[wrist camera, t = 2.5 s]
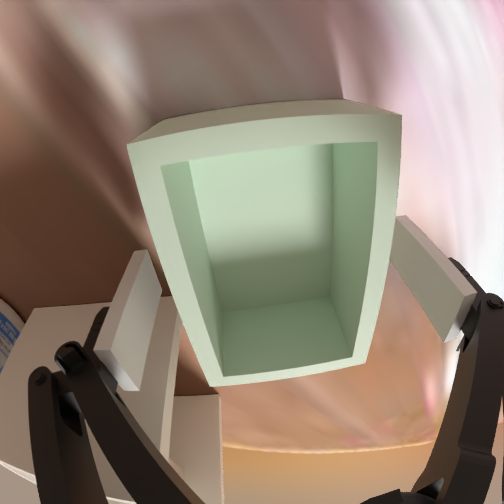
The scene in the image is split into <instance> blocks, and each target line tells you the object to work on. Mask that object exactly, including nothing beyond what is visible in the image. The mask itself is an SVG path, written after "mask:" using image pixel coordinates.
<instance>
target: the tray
mask: <svg viewBox="0 0 504 504" xmlns="http://www.w3.org/2000/svg"><path fill="white" fill-rule="evenodd" d="M401 135H402V115H400V114H397V113H394V112H390V111H387V110H384V109H380V108H377V107H373V106H370V105H366V104H362V103H358V102H354V101H350V100H346V99H319V100H298V101H284V102H272V103H262V104H253V105H244V106H237V107H229V108H223V109H216V110H210V111H204V112H198V113H193V114H188V115H183V116H178V117H173V118H168V119H164V120H162V121H160V122H159V123H157V124H156V125H154V126H153V127H151V128H150V129H148V130H147V131H145V132H144V133H142V134H141V135H139V136H138V137H136V138H135V139H134V140H132V141H131V142H129V143H128V144H127V149H128V153H129V158H130V161H131V165H132V169H133V173H134V177H135V181H136V184H137V188H138V191H139V195H140V199H141V202H142V205H143V209H144V212H145V216H146V219H147V222H148V225H149V229H150V232H151V235H152V238H153V241H154V244H155V247H156V250H157V253H158V256H159V259H160V262H161V265H162V268H163V271H164V274H165V277H166V280H167V282H168V285H169V288H170V291H171V293H172V296H173V299H174V301H175V304H176V307H177V309H178V312H179V315H180V317H181V320H182V322H183V325H184V327H185V330H186V332H187V335H188V337H189V340H190V342H191V344H192V347H193V349H194V352H195V354H196V356H197V359H198V361H199V363H200V366H201V368H202V370H203V372H204V375H205V377H206V379H207V381H208V384H209V386H210V387H215V386H227V385H238V384H247V383H256V382H264V381H272V380H279V379H286V378H292V377H298V376H304V375H310V374H316V373H321V372H326V371H331V370H336V369H341V368H346V367H350V366H355V365H359V364H363V363H365V362H366V359H367V355H368V352H369V348H370V344H371V341H372V337H373V333H374V329H375V325H376V321H377V317H378V312H379V308H380V304H381V299H382V294H383V290H384V285H385V280H386V274H387V269H388V263H389V257H390V251H391V245H392V238H393V231H394V224H395V216H396V207H397V198H398V187H399V175H400V159H401Z"/></svg>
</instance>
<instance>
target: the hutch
mask: <svg viewBox="0 0 504 504" xmlns="http://www.w3.org/2000/svg"><path fill="white" fill-rule="evenodd" d="M111 303H112V302H106V303H95V304H83V305H71V306H57V307H43V308H34V310H33V311H32V313H31V315H30V317H29V318H28V320H27V322H26V324H25V325H24V327H23V329H22V331H21V333H20V335H19V337H18V338H17V340H16V342H15V344H14V346H13V348H12V350H11V352H10V354H9V356H8V358H7V361H6V363H5V365H4V367H3V369H2V371H1V374H0V464H1V465H2V466H4V467H6V468H7V469H9V470H11V471H13V472H14V473H16V474H18V475H19V476H21V477H23V478H25V479H27V480H29V481H31V482H33V483H35V484H36V485H37V483H36V478H35V472H34V466H33V459H32V451H31V442H30V431H29V416H28V379H29V376H30V374H31V373H32V372H33V371H34V369H36V368H38V367H41V366H45V367H47V368H48V369H49V370H50V371H51V372H52V373H53V372H57V371H61V369H60V368H59V366H58V365H57V364H56V363H55V360H54V356H55V353H56V351H57V350H58V348H59V347H60V346H61V345H63V344H64V343H66V342H69V341H76V342H79V344H80V345H81V346H82V347H83V346H84V343H85V341H86V338H87V336H88V333H89V332H90V328H91V326H92V325H93V321H94V319H95V316H96V314H97V313H98V312H99V311H100V310H101V309H102V308H103V307H109V306H110V305H111ZM181 330H182V320H181V317H180V315H179V312H178V309H177V307H176V304H175V301H174V299H173V296H166V297H160V301H159V305H158V309H157V313H156V317H155V321H154V325H153V330H152V334H151V338H150V343H149V347H148V352H147V356H146V361H145V366H144V371H143V376H142V381H141V386H140V391H124V390H123V389H122V388H121V387H120V385H119V384H118V385H117V389H116V391H117V393H118V394H119V395H120V397H121V398H122V400H123V401H124V403H125V405H126V406H127V408H128V409H129V411H130V412H131V414H132V415H133V416H134V418H135V419H136V421H137V422H138V424H139V425H140V426H141V428H142V429H143V431H144V432H145V433H146V435H147V436H148V437H149V439H150V440H151V441H152V443H153V444H154V445H155V447H156V448H157V449H158V450H159V452H160V453H161V454H162V455H163V457H164V458H165V459H166V460H167V462H168V463H169V464H170V465H171V466H172V468H173V469H174V470H175V471H176V472H177V473H178V475H179V476H180V477H181V478H182V479H183V480H184V481H185V483H186V484H187V485H188V486H189V487H190V488H191V489H192V490H193V491H194V492H195V493H196V494H197V495H198V496H199V498H200V499H201V500H202V501H203V502H204V503H205V504H224V486H223V485H224V484H223V458H222V457H223V454H222V408H221V397H220V395H219V394H214V395H197V396H174V389H175V379H176V370H177V362H178V353H179V345H180V337H181ZM84 419H85V418H84ZM85 424H86V428H87V433H88V437H89V441H90V445H91V449H92V453H93V457H94V460H95V464H96V467H97V471H98V474H99V477H100V480H101V483H102V486H103V489H104V492H105V495H106V498H107V501H108V504H136V503H135V501H134V500H133V498H132V497H131V496H130V494H129V493H128V491H127V490H126V488H125V487H124V485H123V484H122V482H121V481H120V479H119V478H118V476H117V475H116V473H115V472H114V470H113V469H112V467H111V465H110V464H109V462H108V460H107V459H106V457H105V455H104V454H103V452H102V450H101V448H100V446H99V445H98V443H97V441H96V439H95V437H94V435H93V434H92V432H91V430H90V428H89V426H88V424H87V422H86V420H85Z"/></svg>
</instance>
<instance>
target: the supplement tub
mask: <svg viewBox="0 0 504 504" xmlns="http://www.w3.org/2000/svg"><path fill="white" fill-rule="evenodd" d="M24 325H25V323H24V322H23V321H22V319H21V318H20V317H19V316H18V314H17V313H16V312H15V311H14V310H13V309H12V308H11V307H10V306H9V305H8V304H7V303H6V302H4V301H3V300H2V299H0V374H1V371H2V369H3V367H4V365H5V363H6V361H7V358H8V356H9V354H10V352H11V350H12V348H13V346H14V344H15V342H16V340H17V338H18V337H19V335H20V333H21V331H22V329H23V327H24Z"/></svg>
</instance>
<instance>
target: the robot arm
mask: <svg viewBox="0 0 504 504" xmlns="http://www.w3.org/2000/svg"><path fill="white" fill-rule="evenodd" d="M389 260H390V261H391V263H392V264H393V266H394V267H395V268H396V270H397V271H398V273H399V274H400V276H401V277H402V278H403V280H404V281H405V283H406V284H407V286H408V287H409V289H410V290H411V292H412V293H413V295H414V296H415V298H416V299H417V301H418V302H419V304H420V305H421V307H422V308H423V310H424V311H425V313H426V315H427V316H428V318H429V319H430V321H431V323H432V324H433V326H434V327H435V329H436V331H437V332H438V334H439V336H440V337H441V339H442V341H443V342H444V343H445V342H448V341H451V340H454V339H456V338H457V336H458V334H459V332H460V330H462V331H463V333H464V336H463V338H462V340H461V342H460V344H459V346H458V348H457V350H456V351H459V349H460V354H459V359H458V364H457V369H456V373H455V378H454V382H453V386H452V390H451V394H450V398H449V401H448V405H447V408H446V412H445V415H444V418H443V422H442V425H441V428H440V431H439V434H438V437H437V440H436V442H435V445H434V448H433V450H432V453H431V456H430V458H429V461H428V463H427V465H426V468H425V470H424V471H423V473H422V474H421V476H420V477H419V478H418V480H417V481H416V483H415V485H414V486H413V488H412V490H411V492H400V489H397V490H394V491H391V492H388V493H385V494H382V495H379V496H376V497H373V498H370V499H368V500H366V501H364V502H362V503H361V504H483V503H484V501H485V498H486V495H487V492H488V489H489V486H490V483H491V480H492V476H493V473H494V469H495V465H496V458H495V457H494V456H493V455H492V453H491V452H492V447H493V442H494V438H495V433H496V428H497V423H498V418H499V412H500V405H501V398H502V399H503V415H504V301H503V300H502V299H501V298H500V297H499V296H497V295H495V294H492V293H485V292H484V290H483V289H482V288H481V287H480V286H479V284H478V283H477V282H476V281H475V280H474V279H473V277H472V276H470V274H469V273H468V272H467V271H465V268H464V267H463V266H462V265H461V264H460V263H459V262H458V261H456V260H454V259H453V258H447V257H446V256H445V254H444V253H443V252H442V251H441V250H440V249H439V248H438V247H437V246H436V245H435V244H434V243H433V242H432V241H431V240H430V239H429V238H428V237H427V236H426V234H425V233H424V232H423V231H422V230H421V229H420V228H419V227H418V226H417V225H416V224H415V223H413V222H412V221H411V220H410V219H409V218H408V217H407V216H406V215H404V216H395V224H394V231H393V238H392V245H391V251H390V257H389ZM161 293H162V288H161V286H160V283H159V280H158V277H157V275H156V272H155V269H154V266H153V264H152V261H151V258H150V255H149V252H148V249H145V250H138V251H134V253H133V255H132V257H131V259H130V261H129V264H128V266H127V268H126V270H125V272H124V275H123V277H122V279H121V281H120V284H119V286H118V288H117V291H116V293H115V295H114V298H113V300H112V303H111V305H110V306H109V307H103V308H102V309H101V310H100V311H99V312H98V313H97V314H96V316H95V319H94V321H93V325H92V326H91V328H90V332H89V333H88V336H87V338H86V341H85V343H84V346H83V347H82V346H81V345H80V344H79V342H76V341H69V342H66V343H64V344H63V345H61V346H60V347H59V348H58V350H57V351H56V353H55V356H54V360H55V363H56V364H57V365H58V366H59V368H60V369H61V371H57V372H53V373H52V372H51V371H50V370H49V369H48V368H47V367H45V366H41V367H38V368H36V369H34V371H33V372H32V373H31V374H30V376H29V379H28V416H29V431H30V442H31V451H32V459H33V466H34V472H35V478H36V483H37V488H38V493H39V498H40V501H41V504H108V501H107V498H106V495H105V492H104V489H103V486H102V483H101V480H100V477H99V474H98V471H97V467H96V464H95V460H94V457H93V453H92V449H91V445H90V441H89V437H88V433H87V428H86V424H85V420H86V422H87V424H88V426H89V428H90V430H91V432H92V434H93V435H94V437H95V439H96V441H97V443H98V445H99V446H100V448H101V450H102V452H103V454H104V455H105V457H106V459H107V460H108V462H109V464H110V465H111V467H112V469H113V470H114V472H115V473H116V475H117V476H118V478H119V479H120V481H121V482H122V484H123V485H124V487H125V488H126V490H127V491H128V493H129V494H130V496H131V497H132V498H133V500H134V501H135V503H136V504H205V503H204V502H203V501H202V500H201V499H200V498H199V496H198V495H197V494H196V493H195V492H194V491H193V490H192V489H191V488H190V487H189V486H188V485H187V484H186V483H185V481H184V480H183V479H182V478H181V477H180V476H179V475H178V473H177V472H176V471H175V470H174V469H173V468H172V466H171V465H170V464H169V463H168V462H167V460H166V459H165V458H164V457H163V455H162V454H161V453H160V452H159V450H158V449H157V448H156V447H155V445H154V444H153V443H152V441H151V440H150V439H149V437H148V436H147V435H146V433H145V432H144V431H143V429H142V428H141V426H140V425H139V424H138V422H137V421H136V419H135V418H134V416H133V415H132V414H131V412H130V411H129V409H128V408H127V406H126V405H125V403H124V401H123V400H122V398H121V397H120V395H119V394H118V393H117V391H116V389H117V385H118V384H119V385H120V387H121V388H122V389H123V390H124V391H140V386H141V381H142V376H143V371H144V366H145V361H146V356H147V352H148V347H149V343H150V338H151V334H152V330H153V325H154V321H155V317H156V313H157V309H158V305H159V301H160V297H161ZM84 418H85V419H84ZM503 459H504V458H503ZM502 501H503V503H502V504H504V460H503V475H502Z"/></svg>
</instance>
